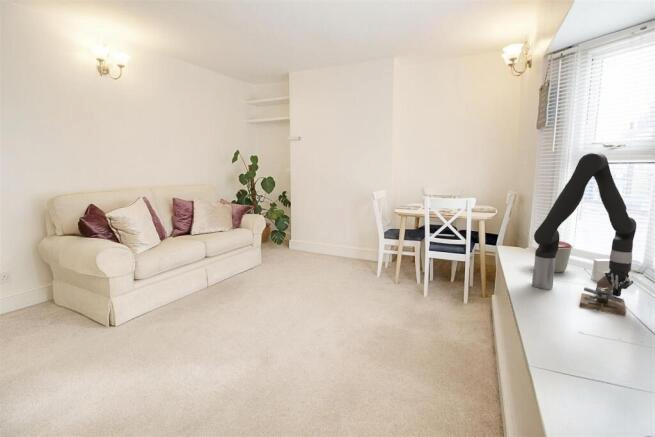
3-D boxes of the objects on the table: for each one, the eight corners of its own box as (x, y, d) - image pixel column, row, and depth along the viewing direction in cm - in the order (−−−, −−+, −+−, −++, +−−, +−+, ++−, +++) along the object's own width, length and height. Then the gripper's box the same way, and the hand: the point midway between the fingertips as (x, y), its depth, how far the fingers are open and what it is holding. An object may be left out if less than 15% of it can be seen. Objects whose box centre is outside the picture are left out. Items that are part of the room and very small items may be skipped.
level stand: (579, 306, 151) (580, 301, 151) (581, 296, 162) (581, 291, 161) (625, 315, 141) (626, 310, 141) (623, 304, 151) (624, 299, 151)
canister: (568, 268, 205) (572, 235, 201) (571, 276, 190) (575, 242, 186) (535, 264, 214) (537, 233, 211) (535, 271, 199) (538, 239, 196)
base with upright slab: (603, 277, 187) (606, 257, 185) (616, 282, 178) (618, 262, 176) (587, 277, 188) (589, 257, 186) (598, 282, 179) (601, 262, 177)
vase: (616, 295, 162) (618, 279, 160) (600, 295, 163) (602, 278, 162) (607, 290, 168) (609, 274, 167) (592, 289, 170) (594, 274, 168)
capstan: (610, 310, 141) (611, 297, 140) (573, 297, 156) (574, 285, 155) (635, 304, 147) (636, 291, 146) (597, 292, 161) (598, 280, 160)
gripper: (600, 256, 154) (596, 290, 156) (625, 264, 141) (620, 301, 143) (616, 256, 154) (612, 290, 156) (642, 264, 141) (637, 301, 143)
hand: (616, 295), depth 150 cm, fingers closed
